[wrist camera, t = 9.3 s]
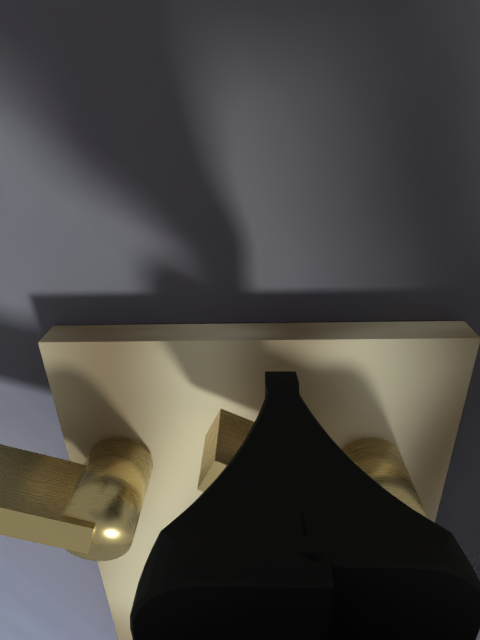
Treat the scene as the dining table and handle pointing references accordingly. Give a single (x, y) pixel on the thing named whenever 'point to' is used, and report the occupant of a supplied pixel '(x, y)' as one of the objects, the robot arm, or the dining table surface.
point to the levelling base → (252, 401)
